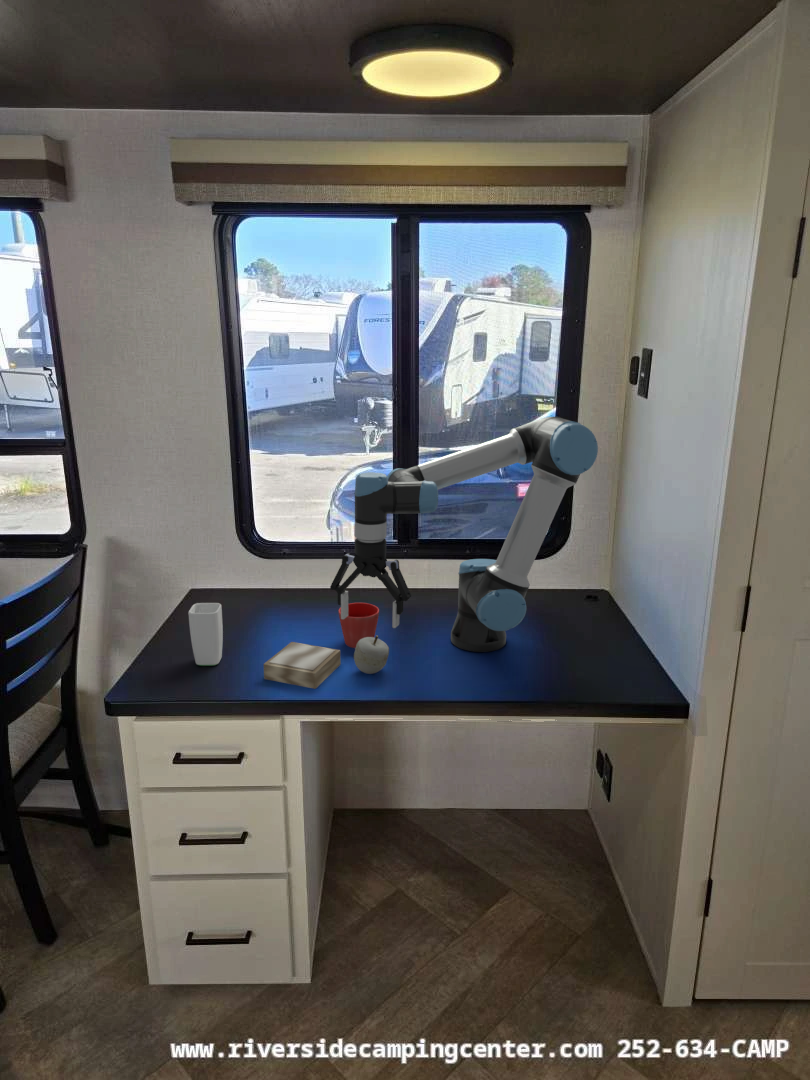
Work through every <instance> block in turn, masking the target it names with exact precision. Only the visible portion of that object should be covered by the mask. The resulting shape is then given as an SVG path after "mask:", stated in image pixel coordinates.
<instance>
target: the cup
mask: <svg viewBox="0 0 810 1080" xmlns="http://www.w3.org/2000/svg"><path fill="white" fill-rule="evenodd" d="M222 607H223V606H222V604H221V603H219V602H196V603H194V604H193V605H191V607H190V609H189V610H188V613H187V614H188V624H189V633H190V641H191V646H192V647H191V648H192V653H193V657H194V661H195V664H196V665H197V666H200V667H210V666H211V667H214V666H216V665H218V664H219V663H220V661H221V659H222V657H223V642H224V640H223V639H224V638H223V637H224V636H223V635H224V634H223V633H224V631H223V628H224V627H223V610H222Z"/></svg>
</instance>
